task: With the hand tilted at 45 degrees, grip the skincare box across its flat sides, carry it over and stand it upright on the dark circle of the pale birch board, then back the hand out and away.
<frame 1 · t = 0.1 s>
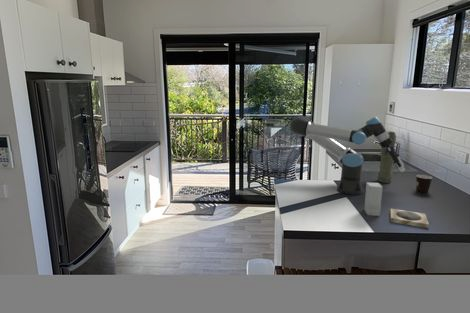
hand: (402, 168, 196), 15 cm above the worktop, tool tilted 35°, fingers open, 13 cm apart
olive green tapered column: (384, 181, 222), on the worktop
coffee mug: (422, 191, 201), on the worktop
birch board: (408, 219, 157), on the worktop
skincare box: (371, 213, 165), on the worktop
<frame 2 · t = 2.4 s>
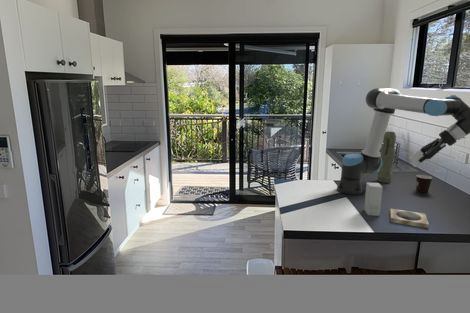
hand: (411, 162, 159), 28 cm above the worktop, tool tilted 45°, fingers open, 13 cm apart
nothing on the worktop moved.
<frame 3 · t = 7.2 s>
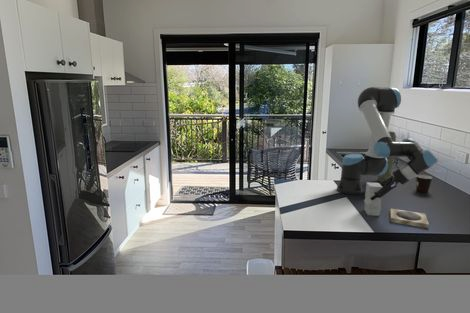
hand: (366, 199, 165), 7 cm above the worktop, tool tilted 45°, fingers closed on skincare box, 9 cm apart
skincare box: (371, 213, 165), on the worktop, touching gripper
everything else where it was.
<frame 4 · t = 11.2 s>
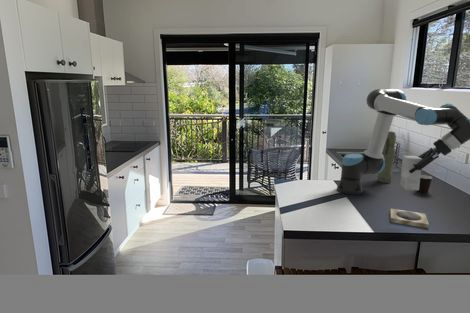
hand: (403, 173, 154), 23 cm above the worktop, tool tilted 45°, fingers closed on skincare box, 9 cm apart
skincare box: (408, 188, 154), point 16 cm above the worktop, touching gripper
everything else where it was.
when the fingers open (10 cm above the worktop, at t = 15.0 s): skincare box drops 1 cm, resting on birch board.
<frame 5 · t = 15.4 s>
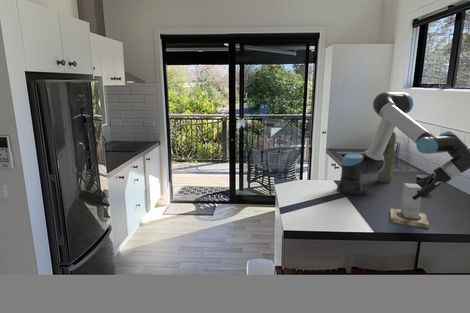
hand: (405, 197, 156), 11 cm above the worktop, tool tilted 45°, fingers open, 13 cm apart
skincare box: (408, 215, 157), point 2 cm above the worktop, touching birch board
everything else where it was.
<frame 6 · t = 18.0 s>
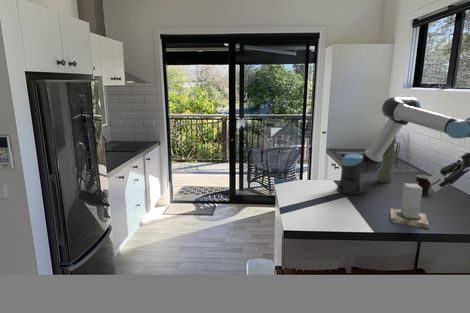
hand: (431, 185, 150), 19 cm above the worktop, tool tilted 45°, fingers open, 13 cm apart
nothing on the worktop moved.
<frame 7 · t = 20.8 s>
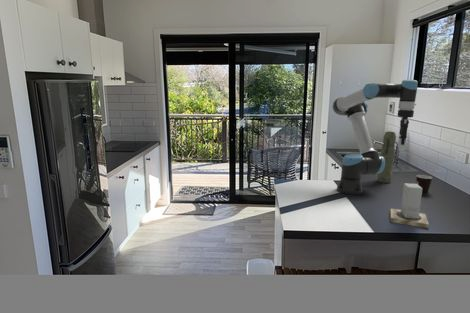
hand: (400, 148, 173), 32 cm above the worktop, tool pointing down, fingers open, 13 cm apart
nothing on the worktop moved.
at the end: skincare box inside the target area on the birch board (0.4 cm from its centre), point 2.0 cm above the birch board's base; skincare box tilted 0°; the gripper is holding nothing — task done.
